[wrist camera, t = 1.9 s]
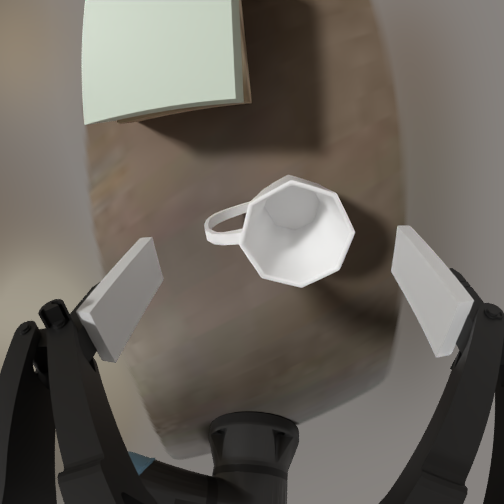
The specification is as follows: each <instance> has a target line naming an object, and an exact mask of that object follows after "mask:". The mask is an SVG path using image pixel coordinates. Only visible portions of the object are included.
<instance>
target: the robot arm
mask: <svg viewBox="0 0 504 504" xmlns="http://www.w3.org/2000/svg"><path fill="white" fill-rule="evenodd" d="M391 272H392V274H393V275H394V277H395V279H396V281H397V282H398V284H399V286H400V288H401V289H402V291H403V293H404V295H405V297H406V299H407V300H408V302H409V304H410V306H411V308H412V310H413V311H414V314H415V315H416V317H417V319H418V321H419V323H420V325H421V327H422V329H423V331H424V333H425V335H426V337H427V339H428V342H429V344H430V346H431V348H432V350H433V352H434V354H435V357H442V356H446V355H451V353H452V351H453V349H454V347H455V345H457V346H458V348H459V350H460V351H459V353H458V355H457V357H456V358H455V360H454V362H453V364H452V366H451V368H450V369H452V371H451V374H450V377H449V379H448V382H447V384H446V387H445V389H444V392H443V395H442V397H441V399H440V401H439V404H438V406H437V408H436V410H435V413H434V415H433V417H432V419H431V421H430V423H429V425H428V427H427V429H426V431H425V433H424V435H423V437H422V439H421V441H420V442H419V444H418V446H417V448H416V450H415V452H414V453H413V455H412V457H411V458H410V460H409V462H408V463H407V465H406V467H405V468H404V470H403V472H402V473H401V475H400V476H399V478H398V479H397V481H396V482H395V484H394V485H393V487H392V488H391V490H390V491H389V492H388V494H387V495H386V496H385V498H384V499H383V500H382V501H381V502H380V503H379V504H463V503H464V500H465V498H466V495H467V487H466V486H465V481H466V478H467V476H468V473H469V471H470V469H471V466H472V464H473V461H474V459H475V456H476V453H477V451H478V448H479V445H480V442H481V440H482V436H483V433H484V430H485V427H486V424H487V420H488V417H489V413H490V410H491V405H492V402H493V397H494V393H495V427H494V441H493V451H492V459H491V467H490V473H489V478H488V484H487V489H486V494H485V498H484V502H483V504H504V313H503V311H502V310H501V309H500V308H499V307H498V306H496V305H494V304H490V303H483V301H482V300H481V298H480V297H479V296H478V295H477V293H476V292H475V291H474V290H473V288H472V287H470V285H469V283H468V282H466V280H465V279H464V278H463V276H462V275H461V274H460V273H459V272H457V271H456V270H454V269H453V268H450V269H449V268H448V267H447V266H446V265H445V264H444V262H443V261H442V260H441V259H440V258H439V257H438V256H437V254H436V253H435V252H434V251H433V250H432V249H431V248H430V247H429V245H428V244H427V243H426V242H425V241H424V240H423V239H422V238H421V237H420V236H419V235H418V234H417V233H416V232H415V231H414V229H413V228H412V227H411V226H397V234H396V241H395V249H394V256H393V262H392V268H391ZM163 280H164V279H163V276H162V272H161V268H160V265H159V261H158V257H157V253H156V250H155V246H154V242H153V238H152V237H146V238H140V239H139V240H138V241H137V242H136V243H135V244H134V245H133V246H132V247H131V249H130V250H129V251H128V252H127V253H126V254H125V255H124V256H123V257H122V258H121V259H120V260H119V262H118V263H117V264H116V265H115V266H114V267H113V268H112V269H111V270H110V272H109V273H108V274H107V275H106V276H105V277H104V278H103V280H102V281H101V282H99V283H98V284H97V285H95V286H94V287H92V288H91V290H90V291H89V292H88V293H87V295H86V296H85V297H84V298H83V300H81V302H80V303H79V304H78V305H77V306H76V308H75V309H74V310H73V311H72V312H71V314H69V312H68V310H67V308H66V306H65V304H64V302H63V300H61V299H55V300H52V301H50V302H48V303H46V304H45V305H44V306H42V308H41V309H40V310H39V316H40V318H41V319H42V321H43V323H44V325H45V327H46V328H45V329H38V327H37V325H36V323H35V322H34V321H27V322H24V323H23V324H21V325H20V326H19V327H18V328H17V330H16V332H15V333H14V336H13V339H12V341H11V344H10V347H9V349H8V352H7V355H6V358H5V361H4V364H3V366H2V370H1V373H0V504H57V500H56V487H55V428H56V433H57V438H58V443H59V448H60V452H61V456H62V460H63V464H64V471H63V472H61V473H59V474H58V484H59V487H60V491H61V494H62V497H63V500H64V502H65V504H287V476H288V469H289V467H290V464H291V462H292V459H293V457H294V454H295V452H296V449H297V446H298V443H299V431H298V428H297V426H296V425H295V424H294V423H292V422H291V421H289V420H287V419H285V418H282V417H279V416H276V415H271V414H266V413H257V412H238V413H231V414H226V415H223V416H220V417H218V418H216V419H215V420H214V421H213V422H212V423H211V427H210V431H209V441H210V447H211V452H212V457H213V463H214V469H213V475H212V476H208V475H204V474H199V473H195V472H192V471H188V470H185V469H182V468H179V467H175V466H172V465H169V464H166V463H163V462H160V461H157V460H155V458H149V457H145V456H142V455H139V454H137V453H133V452H128V451H127V449H126V447H125V444H124V442H123V440H122V437H121V435H120V432H119V430H118V427H117V425H116V422H115V419H114V416H113V414H112V411H111V408H110V405H109V402H108V400H107V396H106V393H105V390H104V387H103V384H102V380H101V377H100V374H99V370H98V366H97V363H96V361H95V359H94V358H93V356H94V355H95V353H96V351H97V352H98V354H99V356H100V357H101V359H102V360H103V361H108V362H114V363H116V362H117V360H118V358H119V356H120V354H121V352H122V350H123V349H124V347H125V345H126V343H127V341H128V340H129V338H130V336H131V334H132V332H133V331H134V329H135V327H136V325H137V324H138V322H139V320H140V318H141V317H142V315H143V313H144V312H145V310H146V308H147V306H148V305H149V303H150V301H151V300H152V298H153V296H154V295H155V293H156V291H157V290H158V288H159V286H160V285H161V283H162V281H163ZM33 365H34V366H35V368H36V371H35V372H34V369H33Z"/></svg>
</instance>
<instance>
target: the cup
mask: <svg viewBox="0 0 504 504" xmlns="http://www.w3.org/2000/svg"><path fill="white" fill-rule="evenodd" d="M246 212H247V213H246ZM243 213H246V217H245V221H244V225H243V229H239V230H233V231H228V232H215V231H213V230H212V228H213V227H214V226H215V225H217V224H218V223H220V222H222V221H224V220H227V219H229V218H232V217H235V216H238V215H241V214H243ZM204 227H205V233H206V237H207V240H208V241H209V242H211V243H213V244H215V245H234V244H239V245H240V247H241V248H242V250H243V251H244V253H245V254H246V256H247V257H248V259H249V260H250V262H251V263H252V265H253V266H254V268H255V269H256V271H257V272H258V273H259V275H260V276H261V278H263V279H268V280H272V281H276V282H280V283H284V284H288V285H292V286H296V287H301V288H302V287H305V286H307V285H309V284H311V283H313V282H315V281H318V280H320V279H322V278H324V277H326V276H328V275H330V274H332V273H334V272H337V271H339V270H340V268H341V265H342V263H343V261H344V258H345V256H346V254H347V251H348V249H349V246H350V244H351V242H352V239H353V237H354V234H355V231H354V228H353V226H352V224H351V222H350V220H349V218H348V216H347V213H346V211H345V209H344V207H343V205H342V203H341V201H340V199H339V197H338V195H337V193H335V192H333V191H331V190H329V189H327V188H325V187H323V186H322V185H320V184H318V183H315V182H311V181H308V180H305V179H302V178H299V177H295V176H291V175H287V176H285V177H283V178H281V179H279V180H277V181H276V182H274V183H272V184H271V185H270V186H268V187H266V188H264V189H263V190H262V191H261V192H260V193H259V194H258V195H257V196H256V197H255V198H253V199H252V200H251V201H250V202H246V203H243V204H240V205H236V206H233V207H230V208H227V209H225V210H222V211H220V212H217V213H215V214H213V215H212V216H210V217H209V218H208V219H206V222H205V224H204Z"/></svg>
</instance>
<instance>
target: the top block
mask: <svg viewBox="0 0 504 504" xmlns="http://www.w3.org/2000/svg"><path fill="white" fill-rule="evenodd" d="M82 96H83V112H84V124H85V125H87V124H94V123H101V122H110V121H116V120H121V119H125V118H130V117H135V116H140V115H145V114H151V113H156V112H162V111H168V110H175V109H182V108H190V107H198V106H207V105H218V104H230V103H244V96H243V75H242V54H241V34H240V13H239V0H85V8H84V20H83V34H82Z"/></svg>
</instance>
